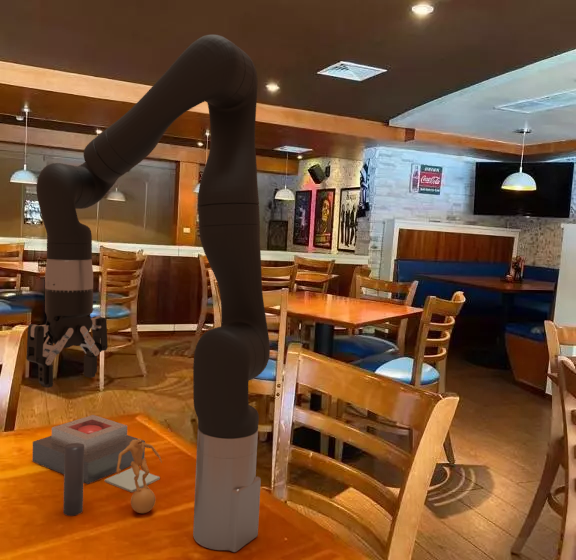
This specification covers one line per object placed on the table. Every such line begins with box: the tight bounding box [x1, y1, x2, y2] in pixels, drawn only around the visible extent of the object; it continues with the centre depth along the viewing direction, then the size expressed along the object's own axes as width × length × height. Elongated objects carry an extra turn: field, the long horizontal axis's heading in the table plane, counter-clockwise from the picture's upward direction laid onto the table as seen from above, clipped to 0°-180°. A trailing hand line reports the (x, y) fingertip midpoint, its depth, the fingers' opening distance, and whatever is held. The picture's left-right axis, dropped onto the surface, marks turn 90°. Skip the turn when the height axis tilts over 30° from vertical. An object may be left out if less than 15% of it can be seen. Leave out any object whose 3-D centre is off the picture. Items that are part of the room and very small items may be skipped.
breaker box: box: [31, 414, 146, 485], centre depth 117 cm, size 16×14×7 cm
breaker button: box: [78, 425, 102, 434], centre depth 116 cm, size 4×4×4 cm
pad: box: [104, 467, 161, 493], centre depth 109 cm, size 7×7×1 cm
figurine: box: [116, 438, 163, 514], centre depth 98 cm, size 8×6×12 cm
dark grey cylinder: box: [63, 443, 84, 517], centre depth 96 cm, size 3×3×11 cm
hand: (69, 381), depth 100 cm, fingers open, 8 cm apart
